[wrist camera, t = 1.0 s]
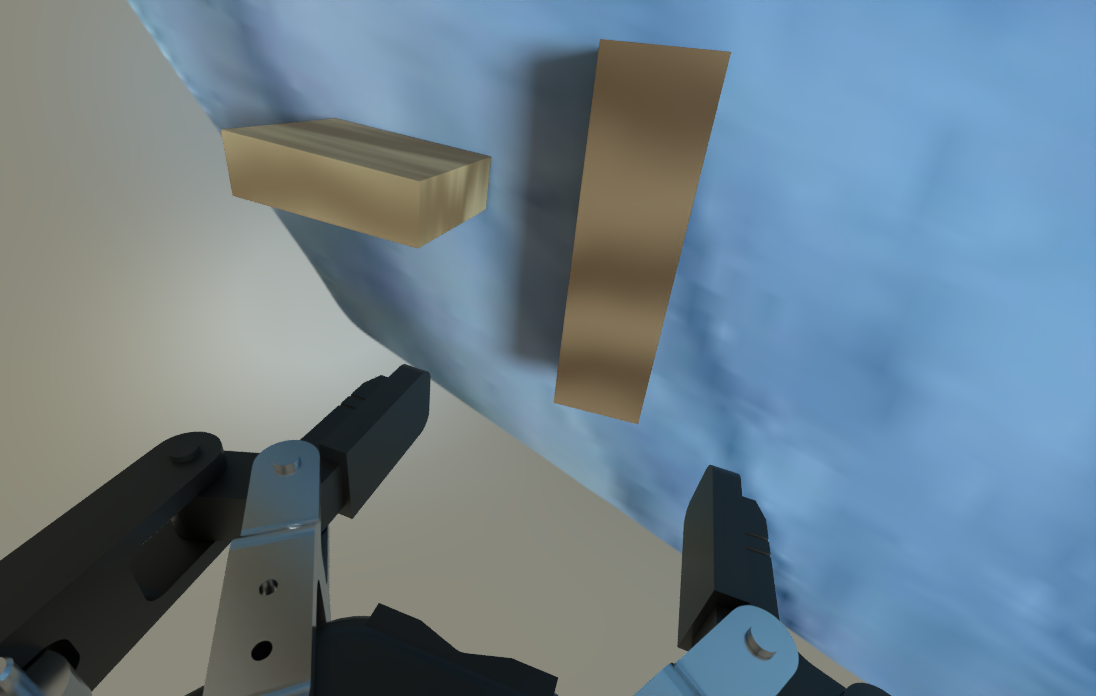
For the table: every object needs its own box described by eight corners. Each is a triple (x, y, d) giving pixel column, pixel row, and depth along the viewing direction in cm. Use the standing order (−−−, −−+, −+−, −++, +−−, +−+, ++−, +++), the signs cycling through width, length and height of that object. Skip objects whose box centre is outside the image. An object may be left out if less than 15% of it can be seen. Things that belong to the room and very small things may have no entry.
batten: (619, 47, 23) (599, 39, 19) (725, 58, 22) (730, 51, 18) (573, 360, 32) (553, 402, 28) (646, 377, 31) (637, 424, 27)
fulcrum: (336, 118, 28) (220, 129, 21) (491, 156, 27) (419, 181, 20) (339, 170, 30) (232, 195, 23) (485, 209, 28) (418, 248, 22)
